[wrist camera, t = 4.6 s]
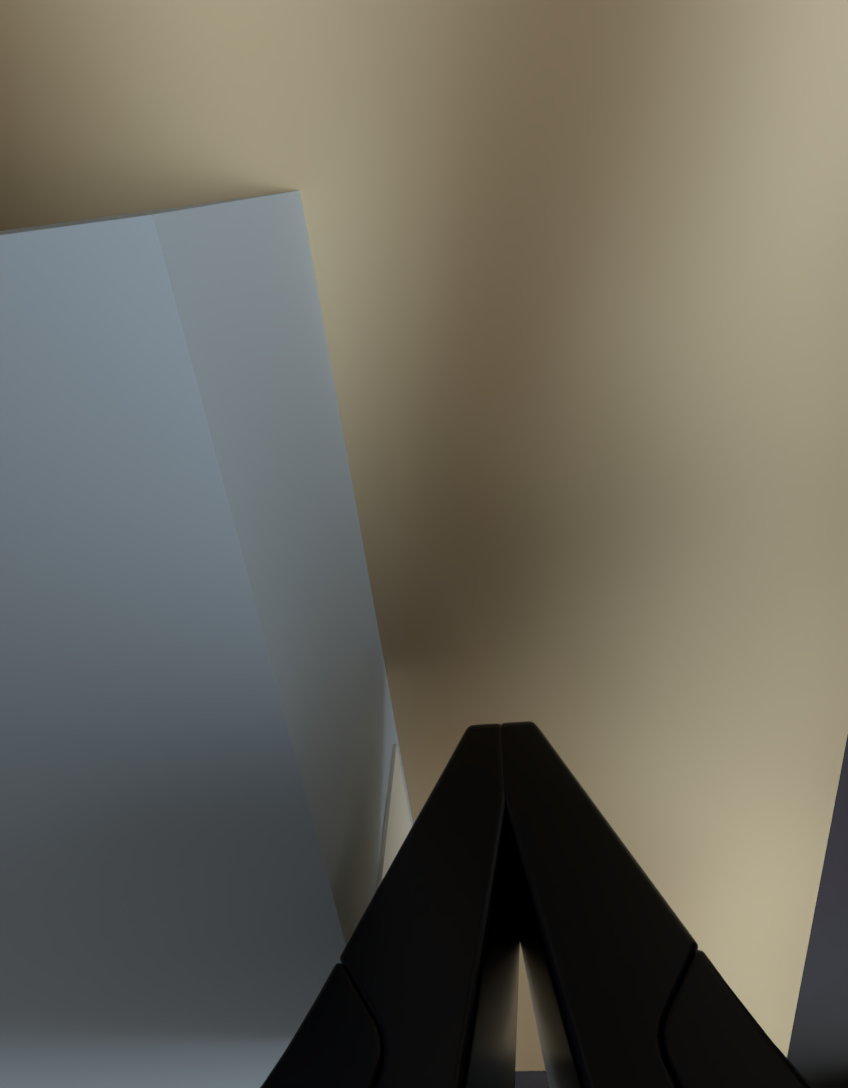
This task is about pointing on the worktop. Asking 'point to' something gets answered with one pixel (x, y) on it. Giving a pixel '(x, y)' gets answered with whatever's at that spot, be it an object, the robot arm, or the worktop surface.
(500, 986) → the robot arm
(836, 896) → the worktop surface
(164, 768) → the carton
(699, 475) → the display board
